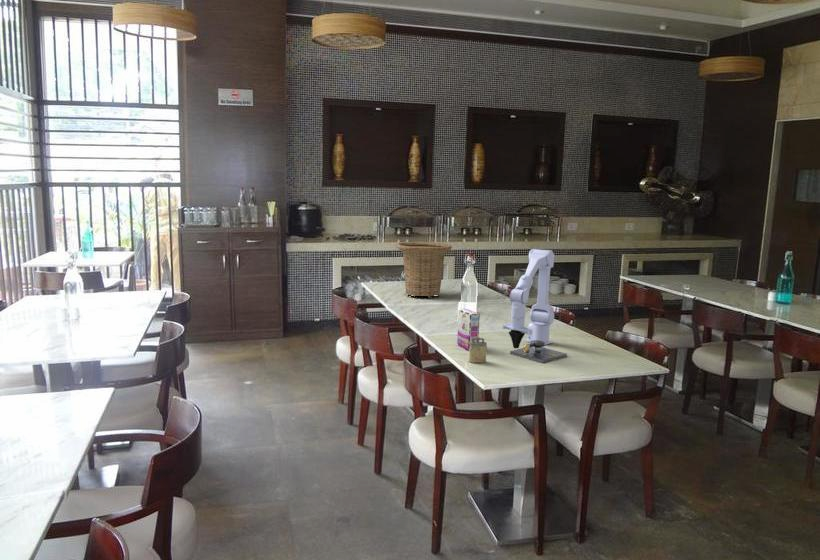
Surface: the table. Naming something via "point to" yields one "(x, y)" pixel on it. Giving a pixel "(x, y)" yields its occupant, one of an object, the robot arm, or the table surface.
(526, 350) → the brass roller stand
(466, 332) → the candy bar box
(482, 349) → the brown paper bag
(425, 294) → the wicker basket
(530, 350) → the lever base
